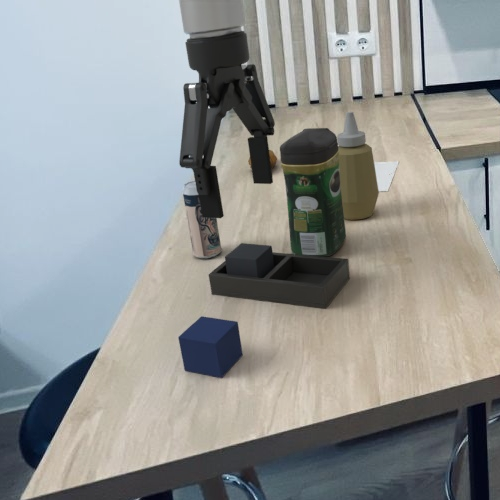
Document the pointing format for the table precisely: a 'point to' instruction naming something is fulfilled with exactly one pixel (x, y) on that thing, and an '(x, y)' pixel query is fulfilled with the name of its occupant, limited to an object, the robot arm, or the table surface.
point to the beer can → (200, 225)
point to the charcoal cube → (250, 260)
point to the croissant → (272, 159)
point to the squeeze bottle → (356, 172)
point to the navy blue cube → (210, 346)
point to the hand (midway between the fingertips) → (239, 199)
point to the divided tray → (287, 281)
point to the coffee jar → (313, 192)
